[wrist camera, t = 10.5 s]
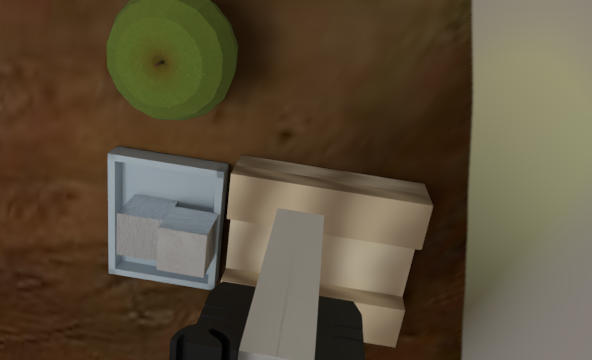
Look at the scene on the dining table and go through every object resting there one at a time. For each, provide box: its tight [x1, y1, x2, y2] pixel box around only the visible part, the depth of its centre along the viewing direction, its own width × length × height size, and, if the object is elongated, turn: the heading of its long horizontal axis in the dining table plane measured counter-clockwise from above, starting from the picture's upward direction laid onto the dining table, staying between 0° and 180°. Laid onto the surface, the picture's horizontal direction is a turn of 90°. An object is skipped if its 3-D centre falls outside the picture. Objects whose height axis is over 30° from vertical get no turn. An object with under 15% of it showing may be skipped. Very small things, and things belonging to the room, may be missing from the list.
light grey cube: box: [156, 206, 219, 278], centre depth 42 cm, size 4×4×4 cm
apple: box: [107, 0, 238, 120], centre depth 35 cm, size 9×8×12 cm
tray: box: [108, 146, 229, 290], centre depth 45 cm, size 10×12×2 cm
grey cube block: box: [117, 194, 179, 261], centre depth 44 cm, size 4×4×4 cm
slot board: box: [221, 155, 433, 347], centre depth 44 cm, size 16×14×4 cm
